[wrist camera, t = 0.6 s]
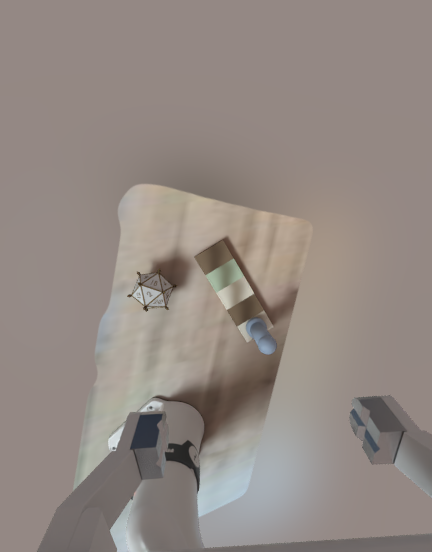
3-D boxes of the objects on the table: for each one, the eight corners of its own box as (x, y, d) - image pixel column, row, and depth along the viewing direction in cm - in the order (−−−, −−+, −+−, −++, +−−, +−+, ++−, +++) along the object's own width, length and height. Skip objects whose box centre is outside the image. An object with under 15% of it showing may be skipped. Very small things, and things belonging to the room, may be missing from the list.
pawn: (251, 339, 56) (265, 364, 45) (242, 323, 55) (253, 345, 44) (268, 329, 56) (286, 352, 45) (259, 313, 55) (274, 332, 44)
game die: (165, 278, 57) (190, 280, 50) (152, 314, 55) (176, 321, 48) (130, 262, 52) (152, 261, 44) (114, 301, 50) (134, 306, 42)
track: (245, 340, 57) (247, 342, 56) (194, 256, 53) (194, 257, 52) (272, 325, 57) (273, 326, 56) (222, 239, 53) (222, 239, 52)
